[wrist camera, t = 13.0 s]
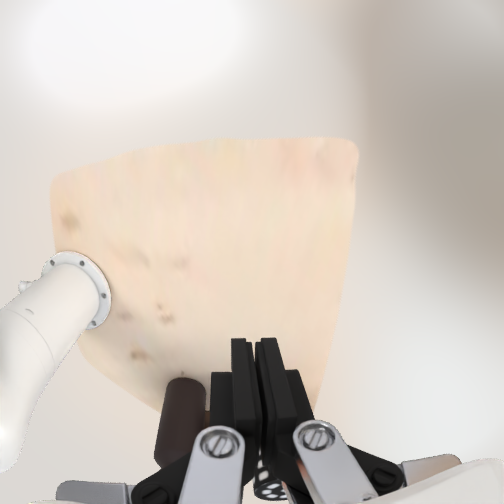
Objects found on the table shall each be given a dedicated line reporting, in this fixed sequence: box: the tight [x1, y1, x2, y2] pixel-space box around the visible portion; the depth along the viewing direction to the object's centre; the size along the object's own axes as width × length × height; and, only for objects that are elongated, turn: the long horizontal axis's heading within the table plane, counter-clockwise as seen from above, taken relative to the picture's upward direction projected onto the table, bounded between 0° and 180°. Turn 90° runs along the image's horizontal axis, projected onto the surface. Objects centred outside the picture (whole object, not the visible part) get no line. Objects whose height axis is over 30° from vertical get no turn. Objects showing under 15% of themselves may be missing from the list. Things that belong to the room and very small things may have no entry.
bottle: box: [154, 378, 206, 471], centre depth 34 cm, size 7×7×20 cm
